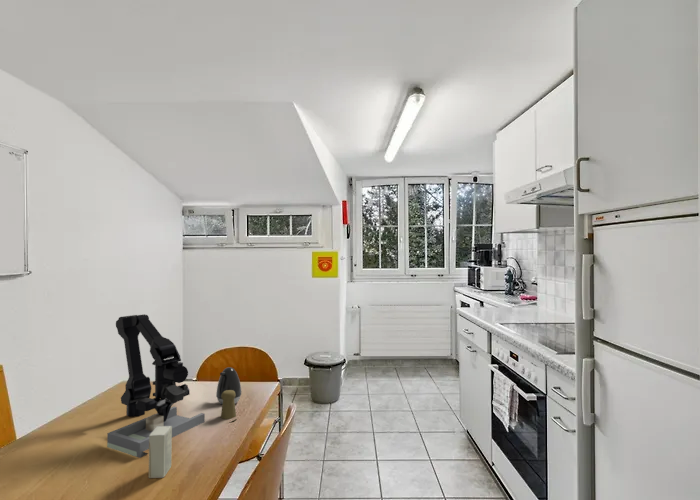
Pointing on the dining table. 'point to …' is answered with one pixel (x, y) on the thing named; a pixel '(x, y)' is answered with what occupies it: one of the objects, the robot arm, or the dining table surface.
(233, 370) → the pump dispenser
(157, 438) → the skincare box
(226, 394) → the cork
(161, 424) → the birch block
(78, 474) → the dining table surface
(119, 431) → the box
